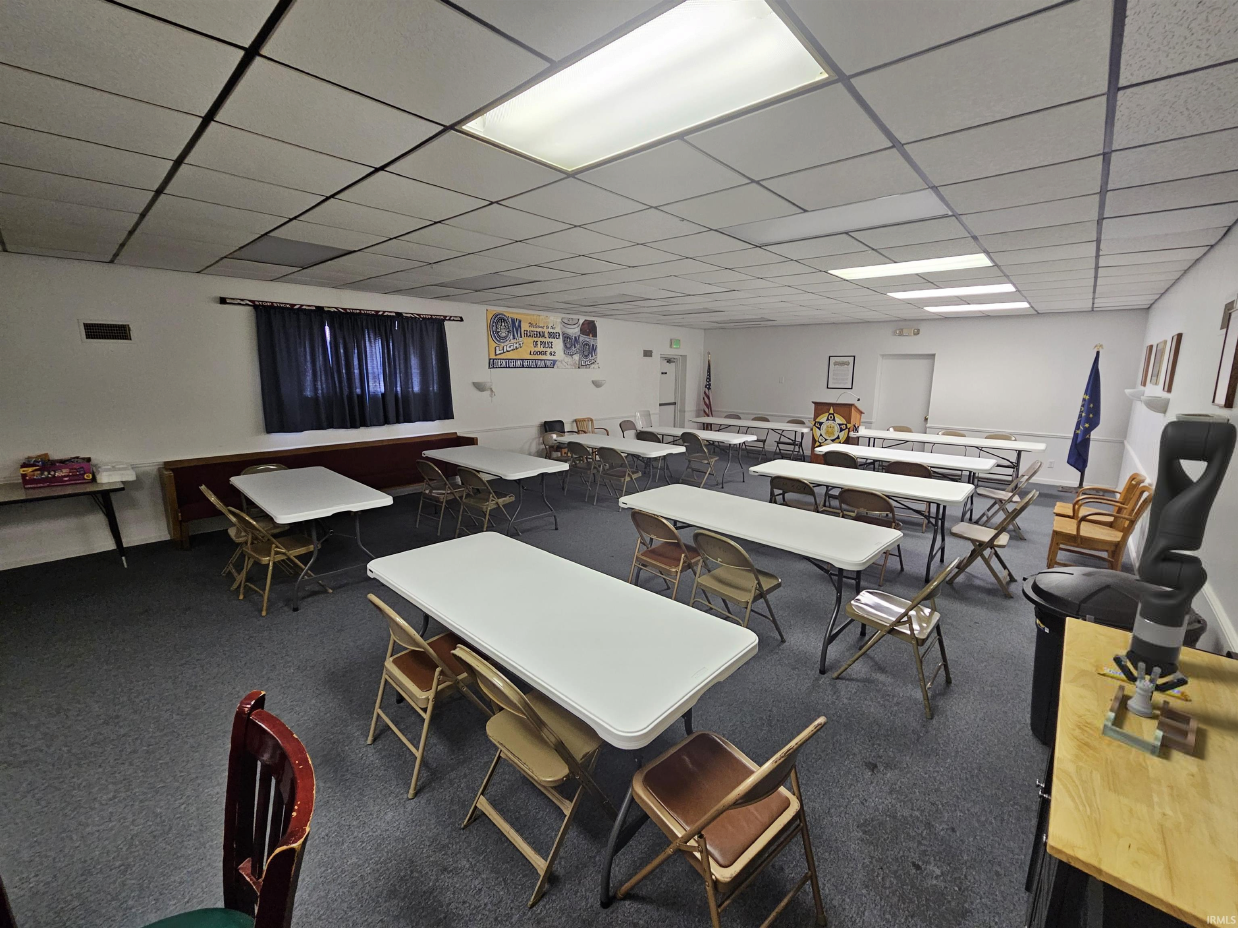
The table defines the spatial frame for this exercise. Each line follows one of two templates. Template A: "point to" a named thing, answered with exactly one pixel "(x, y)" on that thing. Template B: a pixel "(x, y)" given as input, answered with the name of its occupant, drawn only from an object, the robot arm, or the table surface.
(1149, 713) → the rook chess piece
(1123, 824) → the table surface
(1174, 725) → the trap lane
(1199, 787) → the table surface
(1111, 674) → the candy bar
